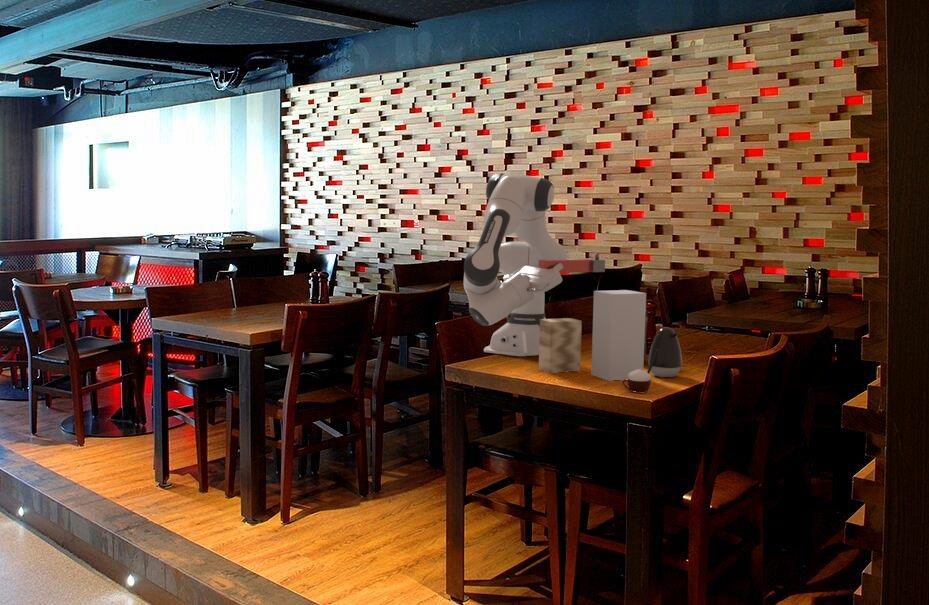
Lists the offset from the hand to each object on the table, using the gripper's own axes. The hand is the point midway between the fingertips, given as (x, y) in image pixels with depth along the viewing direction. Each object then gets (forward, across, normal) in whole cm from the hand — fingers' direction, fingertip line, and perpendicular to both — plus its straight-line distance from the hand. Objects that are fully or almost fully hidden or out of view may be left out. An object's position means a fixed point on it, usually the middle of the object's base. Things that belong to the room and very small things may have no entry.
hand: (557, 264), depth 254 cm
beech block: (-10, +11, +34) cm, 37 cm away
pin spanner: (+3, 0, +4) cm, 5 cm away
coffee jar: (+17, +18, +50) cm, 56 cm away
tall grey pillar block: (0, -4, +40) cm, 40 cm away
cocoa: (-5, -24, +37) cm, 44 cm away
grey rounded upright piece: (+12, -8, +47) cm, 49 cm away
